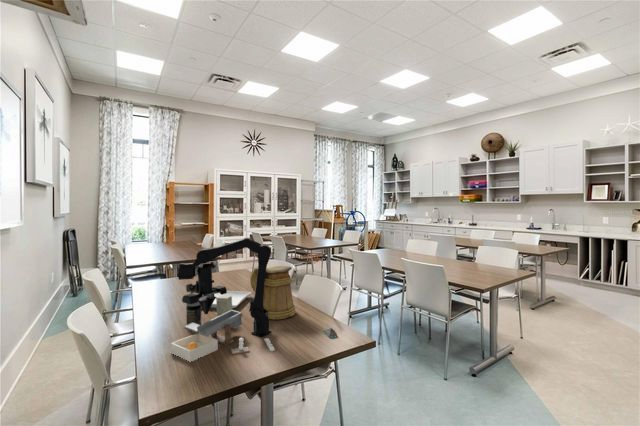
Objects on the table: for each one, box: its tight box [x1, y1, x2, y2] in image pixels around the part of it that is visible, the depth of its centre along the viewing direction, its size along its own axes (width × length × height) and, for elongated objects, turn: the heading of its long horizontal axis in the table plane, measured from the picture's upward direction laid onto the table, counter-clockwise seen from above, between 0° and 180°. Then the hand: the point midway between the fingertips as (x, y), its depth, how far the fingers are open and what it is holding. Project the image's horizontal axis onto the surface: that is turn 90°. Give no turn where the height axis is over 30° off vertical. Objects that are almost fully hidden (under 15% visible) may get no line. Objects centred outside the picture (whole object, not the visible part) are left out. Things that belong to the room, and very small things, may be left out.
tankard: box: [250, 265, 297, 321], centre depth 164 cm, size 18×24×25 cm
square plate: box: [210, 290, 252, 309], centre depth 184 cm, size 27×27×4 cm
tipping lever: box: [183, 309, 243, 337], centre depth 136 cm, size 18×16×6 cm
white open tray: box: [170, 333, 219, 363], centre depth 123 cm, size 12×12×4 cm
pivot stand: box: [209, 324, 234, 346], centre depth 133 cm, size 4×11×8 cm, turn 56°
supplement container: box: [185, 302, 203, 326], centre depth 148 cm, size 7×7×10 cm
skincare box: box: [216, 296, 233, 317], centre depth 154 cm, size 6×4×12 cm
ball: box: [188, 342, 197, 350], centre depth 122 cm, size 4×4×4 cm
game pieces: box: [230, 327, 338, 356], centre depth 133 cm, size 45×13×6 cm, turn 112°
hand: (206, 314), depth 136 cm, fingers closed
